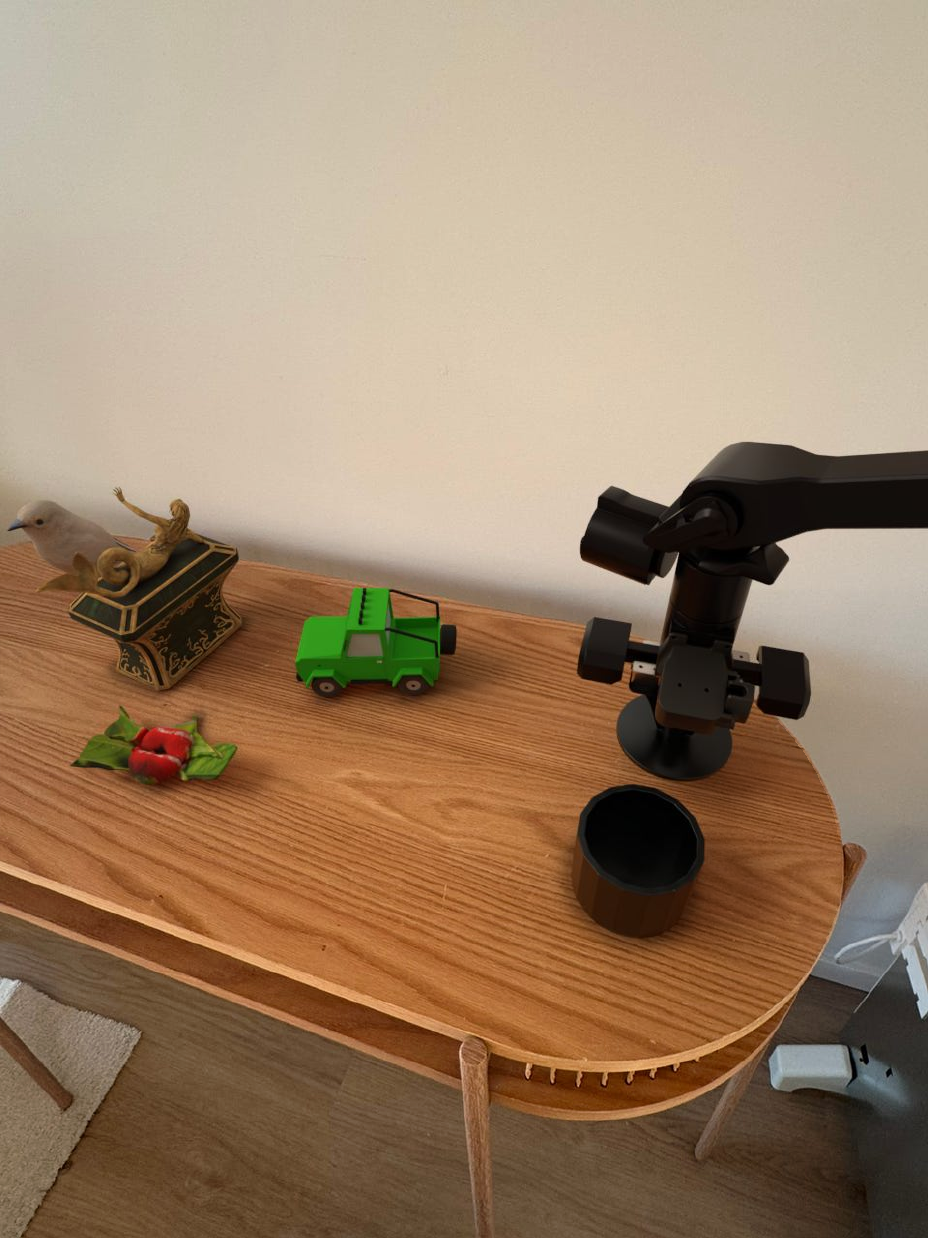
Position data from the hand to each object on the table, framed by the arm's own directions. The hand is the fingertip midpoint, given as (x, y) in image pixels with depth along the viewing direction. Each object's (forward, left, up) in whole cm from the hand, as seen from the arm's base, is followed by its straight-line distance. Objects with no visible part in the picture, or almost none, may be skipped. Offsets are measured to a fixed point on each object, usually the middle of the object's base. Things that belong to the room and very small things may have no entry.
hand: (674, 728), depth 68 cm
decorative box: (+53, +19, -5) cm, 57 cm away
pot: (-3, +13, -5) cm, 15 cm away
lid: (0, 0, -1) cm, 1 cm away
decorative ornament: (+40, +28, -5) cm, 49 cm away
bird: (+70, +17, -5) cm, 72 cm away
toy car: (+31, +7, -5) cm, 32 cm away
